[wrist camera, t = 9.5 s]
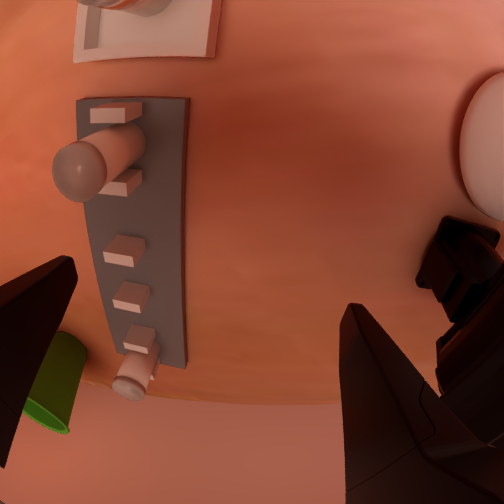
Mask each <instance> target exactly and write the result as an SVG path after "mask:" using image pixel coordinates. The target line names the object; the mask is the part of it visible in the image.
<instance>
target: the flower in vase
mask: <svg viewBox="0 0 504 504" xmlns="http://www.w3.org/2000/svg"><path fill="white" fill-rule="evenodd" d="M459 156H460V167H461V173H462V178H463V181H464V185H465V187H466V190H467V192H468V194H469V196H470V198H471V200H472V201H473V203H474V204H475V205H476V207H477V208H478V209H479V210H480V211H481V212H483V213H484V214H485V215H487V216H488V217H491V218H493V219H496V220H500V221H504V72H501V73H498V74H496V75H494V76H492V77H491V78H489V79H488V80H487V81H486V82H485V83H484V84H483V85H482V86H481V87H480V88H479V89H478V91H477V92H476V93H475V95H474V97H473V98H472V100H471V102H470V104H469V106H468V109H467V111H466V113H465V117H464V120H463V124H462V129H461V135H460V155H459Z"/></svg>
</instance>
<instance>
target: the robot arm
mask: <svg viewBox="0 0 504 504" xmlns="http://www.w3.org/2000/svg"><path fill="white" fill-rule="evenodd" d="M448 222H449V224H448V225H446V224H447V223H448ZM499 239H500V233H499V232H498V231H497V230H495V229H491V228H488V227H485V226H481V225H478V224H474V223H471V222H467V221H464V220H460V219H457V218H453V217H449V216H447V217H445V218H443V220H442V222H441V224H440V227H439V229H438V231H437V234H436V236H435V239H434V241H433V242H432V244H431V246H430V249H429V251H428V253H427V255H426V258H425V260H424V262H423V264H422V266H421V270H420V272H419V274H418V276H417V278H416V281H415V282H416V285H417V286H418V287H419V288H426V289H432V291H433V293H434V295H435V297H436V299H437V301H438V302H439V303H441V304H442V306H443V308H444V310H445V312H446V314H447V317H448V319H449V321H450V322H451V323H454V325H453V326H452V327H451V328H450V329H449V330H448V331H447V332H446V333H445V334H444V335H443V336H441V337H440V338H439V339H438V340H437V341H436V351H437V368H436V369H435V373H436V378H437V382H438V387H439V391H440V393H441V396H440V398H439V396H438V395H437V394H436V393H435V392H434V390H433V389H432V388H431V387H430V385H429V384H428V383H427V382H426V381H424V378H423V377H422V375H421V374H420V373H419V372H418V370H417V369H416V368H415V367H414V365H413V364H412V363H411V362H410V361H409V359H408V358H407V357H406V356H405V354H404V353H403V352H402V351H401V350H400V348H399V347H398V346H397V345H396V343H395V342H394V341H393V340H392V339H391V337H390V336H389V335H388V334H387V333H386V332H385V330H384V329H383V328H382V327H381V326H380V324H379V323H378V322H377V321H376V320H375V319H374V317H373V316H372V315H371V314H370V313H369V312H368V310H367V309H366V308H365V307H364V306H363V305H362V304H358V303H349V304H348V306H347V308H346V310H345V313H344V315H343V317H342V320H341V323H340V339H339V378H340V389H341V402H342V415H343V429H344V430H343V432H344V452H345V481H346V482H345V483H346V504H504V260H503V259H502V258H501V256H500V255H499V254H498V253H497V252H496V250H495V248H496V246H497V244H498V241H499ZM77 281H78V275H77V271H76V267H75V263H74V260H73V258H72V257H69V256H65V255H61V256H59V257H57V258H55V259H53V260H51V261H49V262H47V263H45V264H43V265H41V266H39V267H37V268H35V269H33V270H31V271H29V272H27V273H25V274H23V275H21V276H19V277H17V278H15V279H13V280H11V281H9V282H7V283H5V284H4V285H2V286H0V466H1V467H2V468H4V467H5V465H6V462H7V458H8V455H9V451H10V448H11V445H12V441H13V438H14V435H15V432H16V429H17V426H18V423H19V420H20V417H21V414H22V411H23V409H24V406H25V403H26V401H27V398H28V395H29V393H30V390H31V388H32V385H33V383H34V380H35V378H36V376H37V373H38V371H39V369H40V366H41V364H42V362H43V359H44V357H45V355H46V353H47V350H48V348H49V346H50V344H51V342H52V340H53V338H54V336H55V333H56V331H57V329H58V327H59V325H60V323H61V321H62V319H63V316H64V314H65V312H66V309H67V307H68V304H69V301H70V299H71V297H72V294H73V292H74V289H75V287H76V285H77ZM421 281H422V282H421ZM488 445H489V446H488ZM0 504H5V503H3V502H2V501H0Z"/></svg>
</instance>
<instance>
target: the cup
mask: <svg viewBox="0 0 504 504" xmlns="http://www.w3.org/2000/svg"><path fill="white" fill-rule="evenodd" d="M86 359H87V351H86V349H85V347H84V346H83V344H82V343H81V342H80V341H79V340H77V339H76V338H75V337H73V336H72V335H70V334H68V333H65V332H58V333H56V334H55V336H54V338H53V340H52V342H51V344H50V346H49V348H48V350H47V353H46V355H45V357H44V359H43V362H42V364H41V366H40V369H39V371H38V373H37V376H36V378H35V380H34V383H33V385H32V388H31V390H30V393H29V395H28V398H27V401H26V403H25V406H24V409H23V411H22V412H23V413H24V414H25V415H27V416H28V417H30V418H31V419H33V420H34V421H36V422H37V423H39V424H41V425H42V426H44V427H46V428H48V429H50V430H53V431H55V432H57V433H61V434H67V433H69V431H70V430H69V428H68V425H69V420H70V416H71V412H72V408H73V404H74V400H75V397H76V393H77V389H78V386H79V382H80V379H81V375H82V372H83V368H84V365H85V362H86Z"/></svg>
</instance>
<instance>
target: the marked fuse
mask: <svg viewBox="0 0 504 504" xmlns="http://www.w3.org/2000/svg"><path fill="white" fill-rule="evenodd" d="M77 1H78V2H79V3H81V4H83V5H86V6H92V7H99V8H103V9H108V10H118V11H122V12H126V13H131V14H135V15H139V16H144V17H148V16H153V15H156V14H158V13H160V12H162V11H163V10H164V9H165V8H166V7H167V6H168V5H169V4H170V2H171V1H172V0H77Z"/></svg>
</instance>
